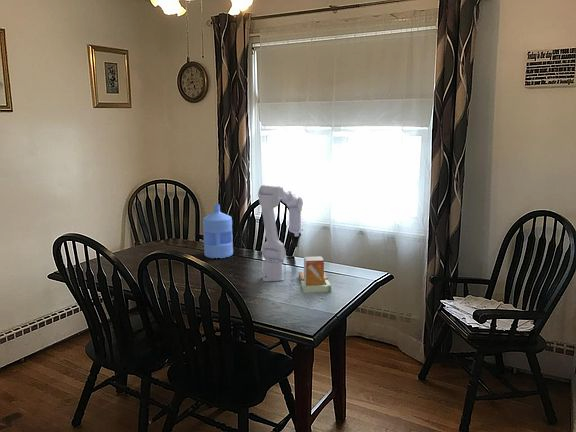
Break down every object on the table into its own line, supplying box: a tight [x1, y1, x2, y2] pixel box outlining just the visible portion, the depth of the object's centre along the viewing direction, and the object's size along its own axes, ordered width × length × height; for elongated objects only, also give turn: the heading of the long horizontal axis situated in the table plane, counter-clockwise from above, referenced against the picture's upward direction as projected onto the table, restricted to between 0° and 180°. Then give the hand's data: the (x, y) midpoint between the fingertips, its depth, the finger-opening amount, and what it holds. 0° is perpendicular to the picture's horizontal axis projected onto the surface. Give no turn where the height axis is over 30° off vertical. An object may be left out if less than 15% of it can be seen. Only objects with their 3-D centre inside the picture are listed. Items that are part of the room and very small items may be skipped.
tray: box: [300, 279, 332, 294], centre depth 215 cm, size 12×8×2 cm, turn 96°
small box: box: [303, 255, 325, 286], centre depth 217 cm, size 8×6×13 cm
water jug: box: [202, 203, 234, 260], centre depth 265 cm, size 16×16×28 cm
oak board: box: [298, 271, 329, 282], centre depth 226 cm, size 12×10×3 cm
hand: (295, 246), depth 246 cm, fingers closed
